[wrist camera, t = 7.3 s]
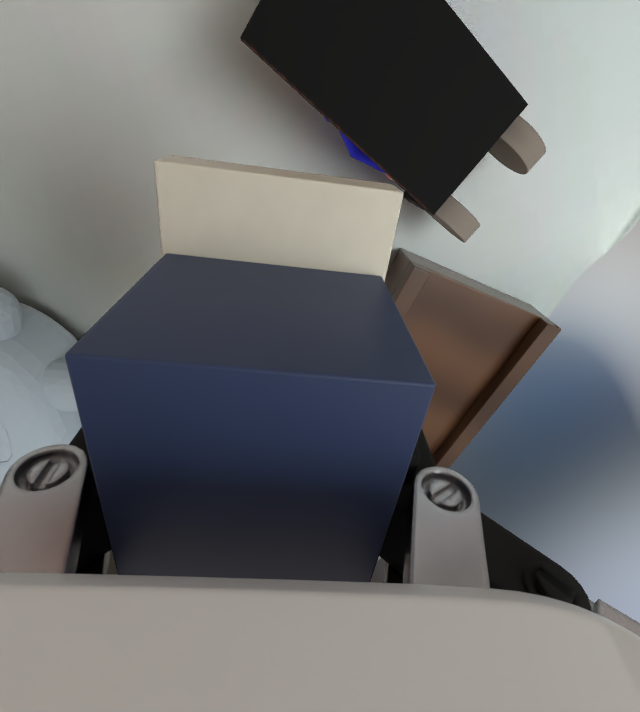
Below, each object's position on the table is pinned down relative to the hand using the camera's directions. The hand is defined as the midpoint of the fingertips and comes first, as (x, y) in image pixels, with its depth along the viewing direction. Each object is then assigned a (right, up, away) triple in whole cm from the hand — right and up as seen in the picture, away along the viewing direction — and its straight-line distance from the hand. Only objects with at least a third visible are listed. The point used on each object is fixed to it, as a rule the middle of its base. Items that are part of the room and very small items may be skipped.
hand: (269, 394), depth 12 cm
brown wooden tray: (+7, -4, +23) cm, 24 cm away
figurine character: (+5, +16, +11) cm, 20 cm away
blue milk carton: (0, 0, 0) cm, 0 cm away
